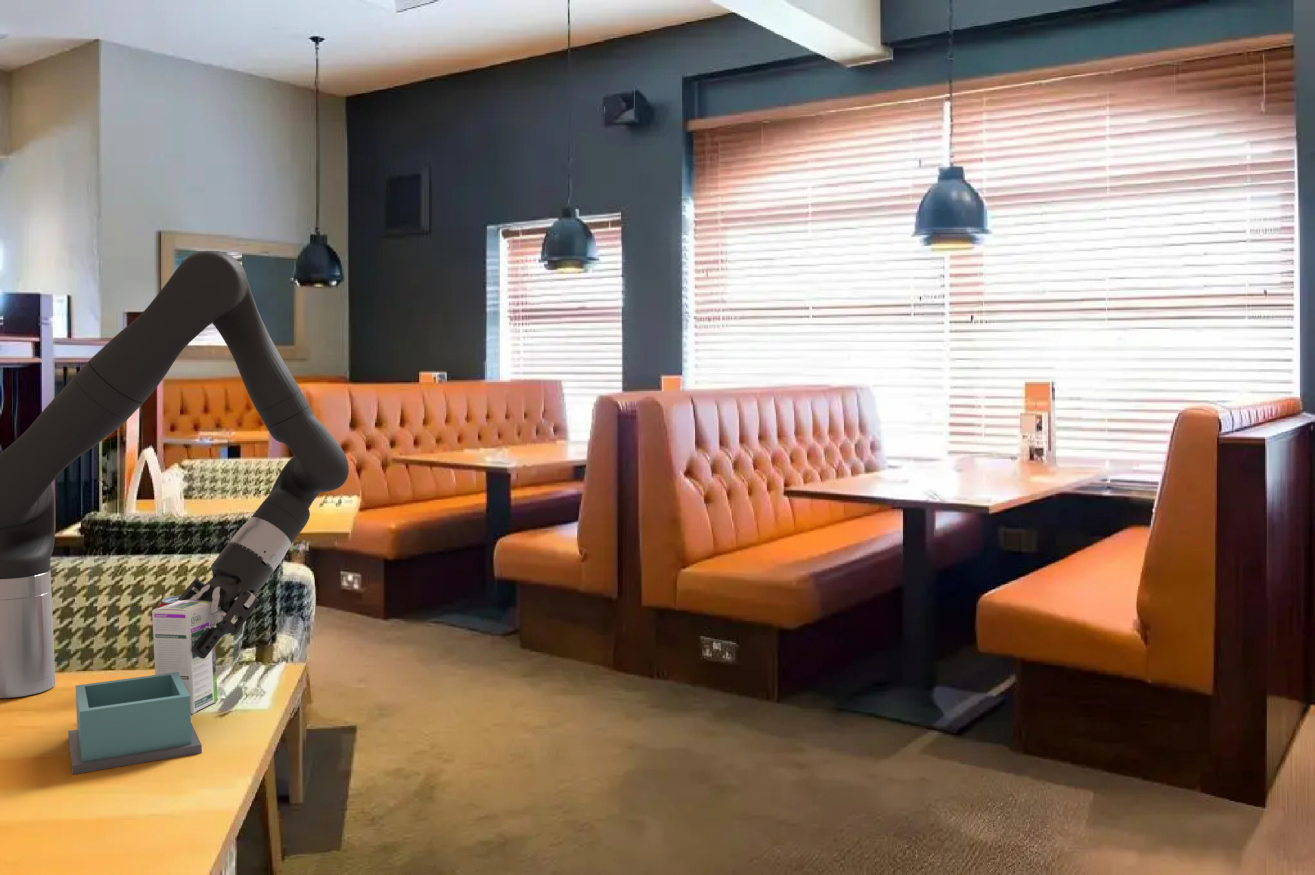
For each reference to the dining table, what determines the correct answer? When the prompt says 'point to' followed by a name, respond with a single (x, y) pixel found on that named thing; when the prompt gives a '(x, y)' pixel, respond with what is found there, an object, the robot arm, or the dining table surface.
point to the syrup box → (185, 648)
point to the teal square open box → (131, 722)
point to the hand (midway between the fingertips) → (180, 650)
